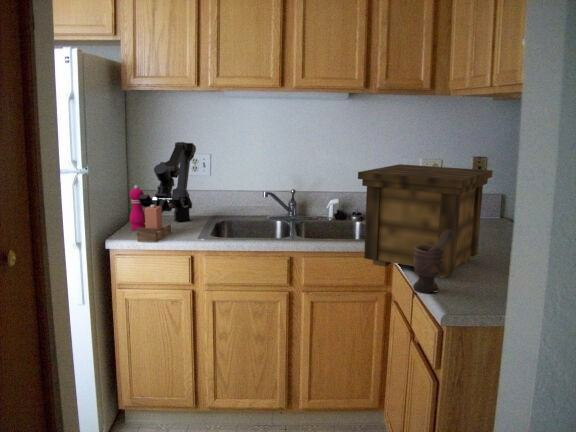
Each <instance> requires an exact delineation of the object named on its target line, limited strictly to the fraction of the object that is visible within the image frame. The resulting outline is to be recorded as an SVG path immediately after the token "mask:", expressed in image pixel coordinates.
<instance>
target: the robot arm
mask: <svg viewBox="0 0 576 432" xmlns="http://www.w3.org/2000/svg"><path fill="white" fill-rule="evenodd" d="M196 152H197V147H196V145H195V144H194V142H185V141H177V142H175V143H174V148H173V151H172V153H171V155H170V157H169V159H168V160H167V161H161V162H159V164H157V165H155V166H154V167H153V173H154V174H155V176H156V178H157V180H158V181H159V185H157V192H156V193H155V194H154V196H152V197H151V196H150V195H149V194H144V195H140V196H139V201H140V203H141V205H142V208H143V207H145V208H147V207H149V206H151V205H156V206H162V214H163V212H171V211H172V209H174V212H173V218H174V219H173V220H174V221H175V222H178V223H181V222H191V221H192V219H190V215H191V214H190V209H193V202H192V200H191V198H190V192H189V191H188V181H189V174H190V173H189V172H190V164H191V161H192V160H193V159H194V157H195V153H196ZM174 178H177V184H176V187H175V179H174ZM173 187H175V188H173Z"/></svg>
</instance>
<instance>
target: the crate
mask: <svg viewBox="0 0 576 432" xmlns="http://www.w3.org/2000/svg"><path fill="white" fill-rule="evenodd" d="M490 178H493V170H492V169H476V168H475V169H474V168H459V167H448V166H447V167H446V166H445V167H444V166H432V165H431V166H429V165H416V164H415V165H414V164H395V165H390V166H383V167H378V168H372V169H367V170H363V171H357V180H362V183H361V185H362V187H366V195H365V196H366V200H365V202H366V203H365V223H364V224H365V228H364V231H365V232H364V253H363V254H364V255H363V259H364V260H365V259H366V260H370V261H372V265H373V266H374V265H375V266H380V267H387V266H389V265H391V264H392V263H393V264H397V265H398V264H399V265H405V266H410V267H414V263H413V259H414V247H415V246H416V245H422V244H428V245H435V244H436V243H437V241H438V239H439V238H440V236H441V234H442V233H443V232H444V231H445V230H446V229H450V230H452V231H453V232H454V234H453V236H452V238H451V239H450V240H449V241H448V242H447V243H446V244H445V245H444V246H443V247H442V248H443V249H444V254H443V263H442V268H441V270H440V273H439V275H438V276H443V277H446V276H447V275H448V276H450V275H451V274H453V272H455V271H456V267H458V266H459V265H460V264H465V263H467V262H469V260H470V259H469V258H470V257H475V256H477V254H478V253H479V252H478V251H479V249H478V248H479V241H480V240H479V239H480V227H481V226H480V224H481V214H482V212H481V211H482V201H483V191H484V185H487V184H488V182H489V181H488V180H489V179H490ZM449 274H450V275H449ZM448 276H447V277H448ZM443 277H442V278H443ZM447 277H446V278H447Z"/></svg>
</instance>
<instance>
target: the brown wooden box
mask: <svg viewBox="0 0 576 432" xmlns="http://www.w3.org/2000/svg"><path fill="white" fill-rule="evenodd" d="M162 228H163V229H161V230H159V231H157V228H146V227H145V228H137V230H136V239H137V242H139V243H143V242H144V243H158V242H159V241H161V240H162V239H164V238H165V237H167V236H168V235H171V234H172V225H171V224H168V225H165V226H162Z"/></svg>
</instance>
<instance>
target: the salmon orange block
mask: <svg viewBox="0 0 576 432" xmlns="http://www.w3.org/2000/svg"><path fill="white" fill-rule="evenodd" d="M144 214H145V223H144V224H145V228H157V231H159V230H161V229H163V228H162V227H163V213H162V206H156V205H151V206H149V207H145V208H144Z"/></svg>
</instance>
